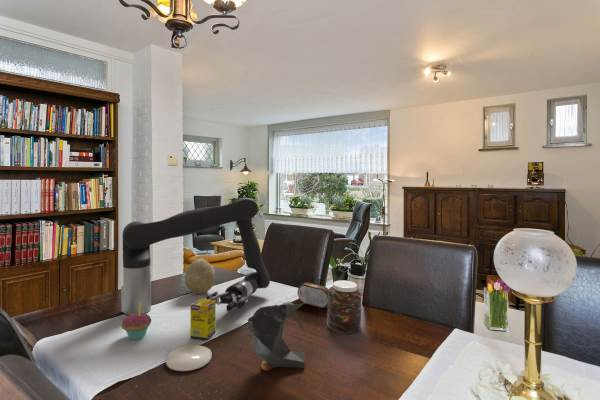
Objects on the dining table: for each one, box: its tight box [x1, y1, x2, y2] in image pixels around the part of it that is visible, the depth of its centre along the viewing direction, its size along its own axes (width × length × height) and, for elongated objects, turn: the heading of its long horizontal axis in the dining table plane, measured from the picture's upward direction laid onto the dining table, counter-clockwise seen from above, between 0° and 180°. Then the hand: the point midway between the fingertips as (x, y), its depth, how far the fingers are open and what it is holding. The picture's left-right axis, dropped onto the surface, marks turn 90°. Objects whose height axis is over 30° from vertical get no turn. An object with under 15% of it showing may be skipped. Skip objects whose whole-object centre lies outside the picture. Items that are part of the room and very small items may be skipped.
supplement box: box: [190, 298, 217, 341], centre depth 109 cm, size 6×6×11 cm
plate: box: [165, 344, 213, 372], centre depth 95 cm, size 12×12×1 cm
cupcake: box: [120, 300, 152, 341], centre depth 108 cm, size 9×8×12 cm
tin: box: [297, 282, 329, 309], centre depth 137 cm, size 15×3×8 cm, turn 58°
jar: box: [326, 279, 363, 335], centre depth 118 cm, size 12×12×15 cm
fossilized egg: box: [184, 258, 216, 295], centre depth 148 cm, size 13×13×15 cm
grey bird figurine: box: [246, 301, 306, 372], centre depth 93 cm, size 14×15×18 cm
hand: (216, 307), depth 116 cm, fingers open, 8 cm apart
